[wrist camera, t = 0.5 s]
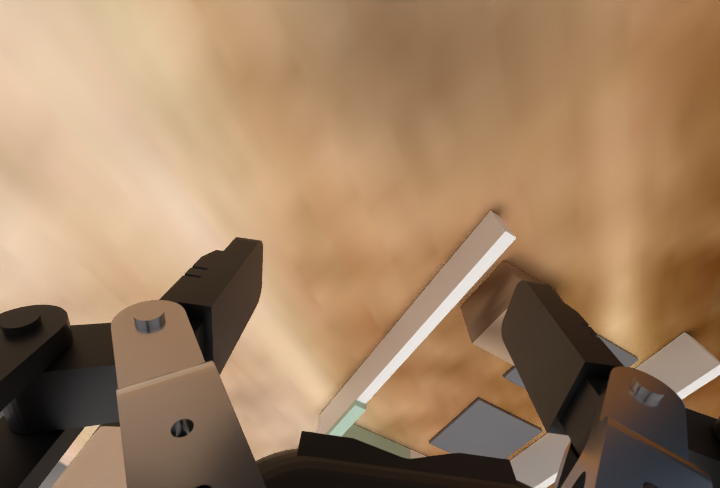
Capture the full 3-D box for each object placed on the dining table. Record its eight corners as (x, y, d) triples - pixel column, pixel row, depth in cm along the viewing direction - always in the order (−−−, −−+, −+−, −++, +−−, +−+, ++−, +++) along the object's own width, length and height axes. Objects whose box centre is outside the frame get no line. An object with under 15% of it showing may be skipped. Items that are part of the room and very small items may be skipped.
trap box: (489, 209, 29) (507, 233, 25) (691, 336, 34) (734, 374, 30) (318, 415, 41) (311, 453, 37) (483, 487, 46) (493, 528, 42)
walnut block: (503, 259, 31) (523, 292, 27) (555, 290, 32) (583, 326, 28) (460, 306, 34) (472, 343, 29) (509, 333, 35) (528, 373, 30)
